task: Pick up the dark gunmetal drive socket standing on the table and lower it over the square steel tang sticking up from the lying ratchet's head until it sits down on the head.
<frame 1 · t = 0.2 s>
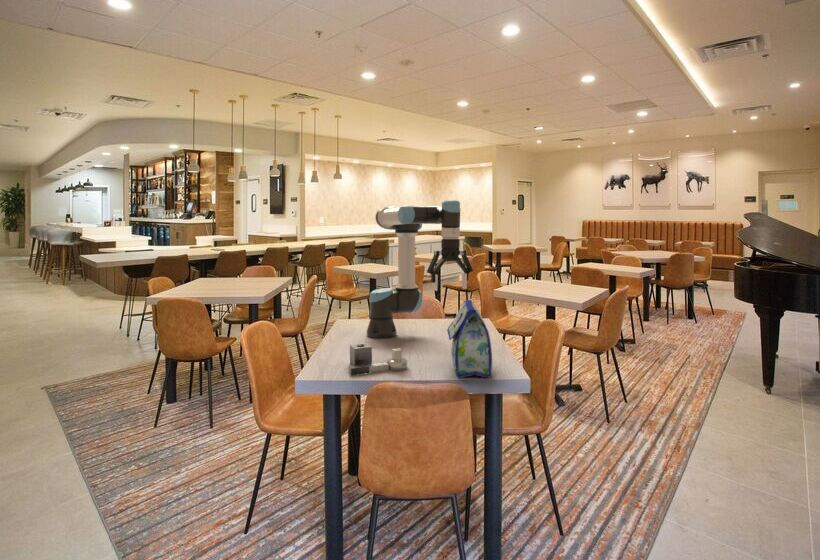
hand: (449, 289, 199), 29 cm above the table, tool pointing down, fingers open, 13 cm apart
socket: (360, 365, 191), on the table
ratchet: (397, 368, 187), on the table
lunch bag: (469, 370, 185), on the table
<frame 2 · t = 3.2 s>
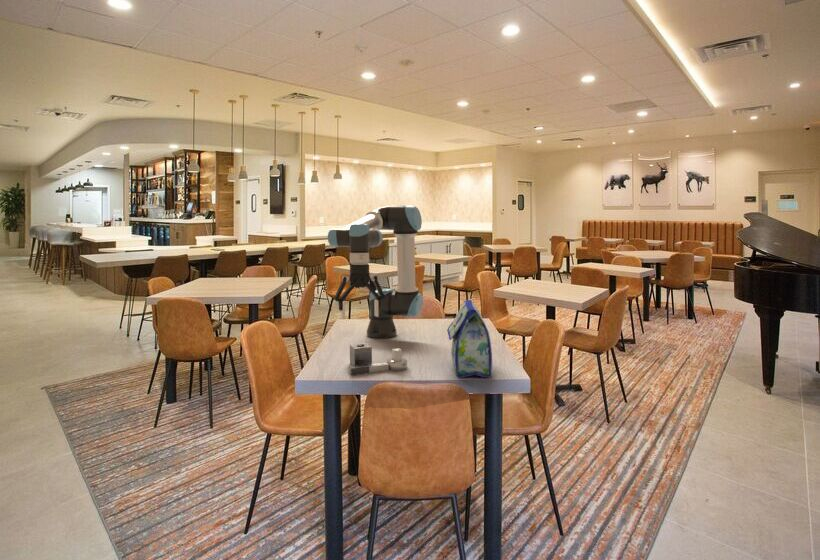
hand: (360, 317, 188), 19 cm above the table, tool pointing down, fingers open, 13 cm apart
nothing on the table moved.
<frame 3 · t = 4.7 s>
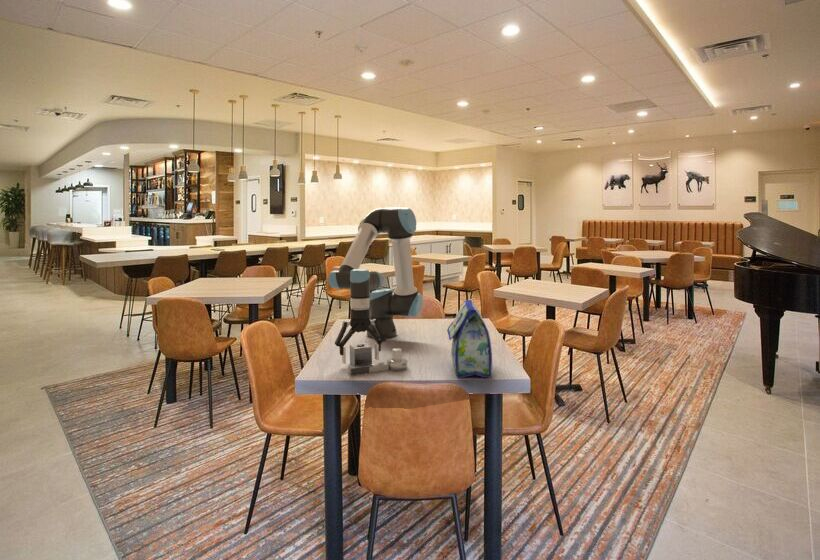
hand: (360, 361, 190), 2 cm above the table, tool pointing down, fingers open, 13 cm apart
nothing on the table moved.
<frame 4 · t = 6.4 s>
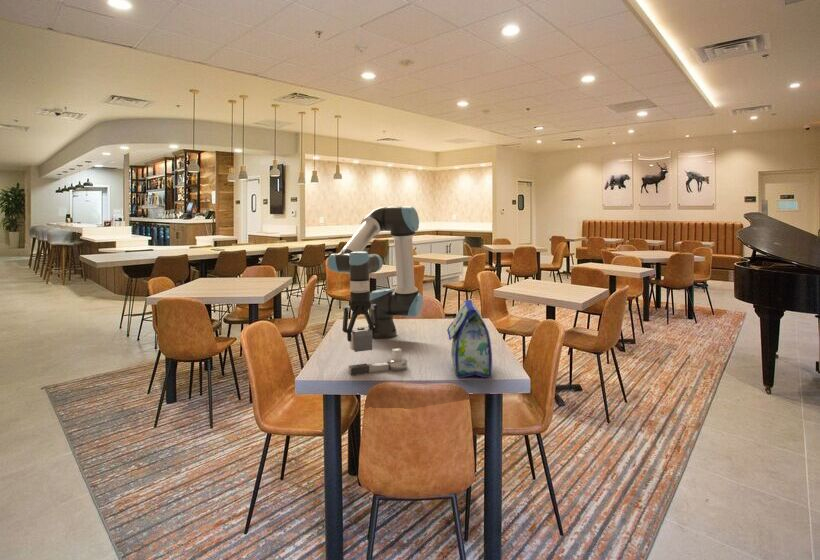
hand: (361, 347, 190), 7 cm above the table, tool pointing down, fingers closed on socket, 7 cm apart
socket: (361, 348, 191), point 7 cm above the table, touching gripper
everything else where it was.
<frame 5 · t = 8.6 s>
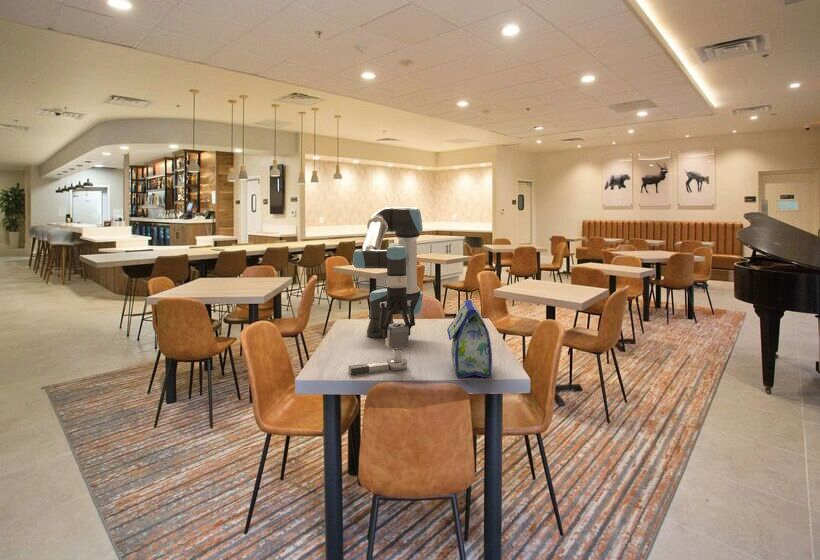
hand: (396, 344, 186), 9 cm above the table, tool pointing down, fingers closed on socket, 7 cm apart
socket: (396, 345, 186), point 9 cm above the table, touching gripper
everything else where it was.
when the fingers open (4 cm above the table, at t = 10.9 s): socket drops 1 cm, resting on ratchet.
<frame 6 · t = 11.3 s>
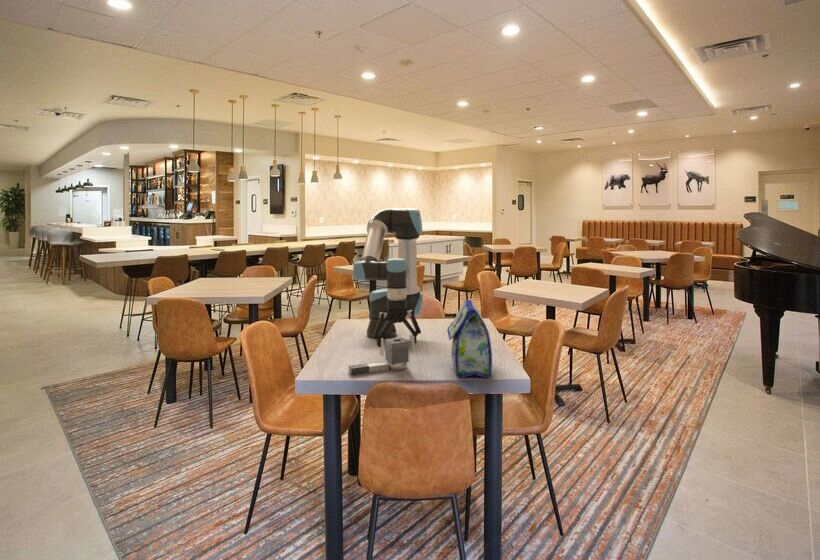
hand: (396, 353, 186), 6 cm above the table, tool pointing down, fingers open, 12 cm apart
socket: (396, 360, 187), point 3 cm above the table, touching ratchet
everything else where it was.
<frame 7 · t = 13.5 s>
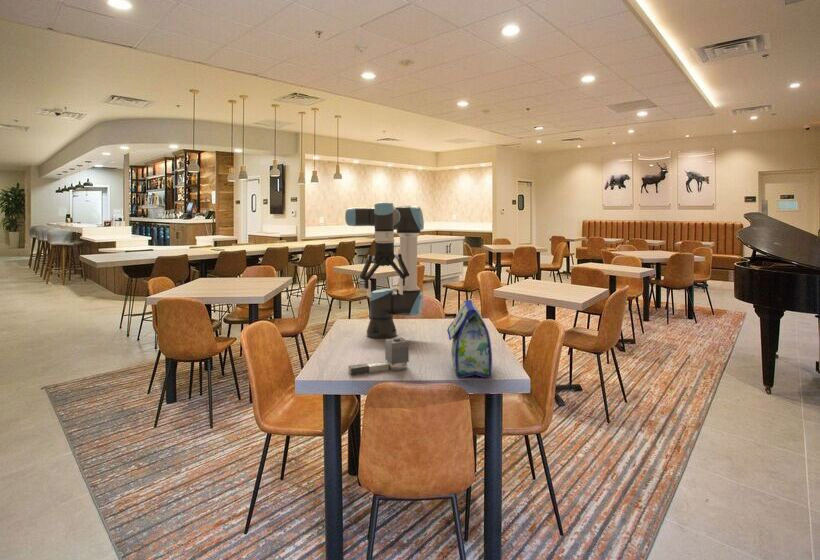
hand: (385, 295, 191), 28 cm above the table, tool pointing down, fingers open, 13 cm apart
nothing on the table moved.
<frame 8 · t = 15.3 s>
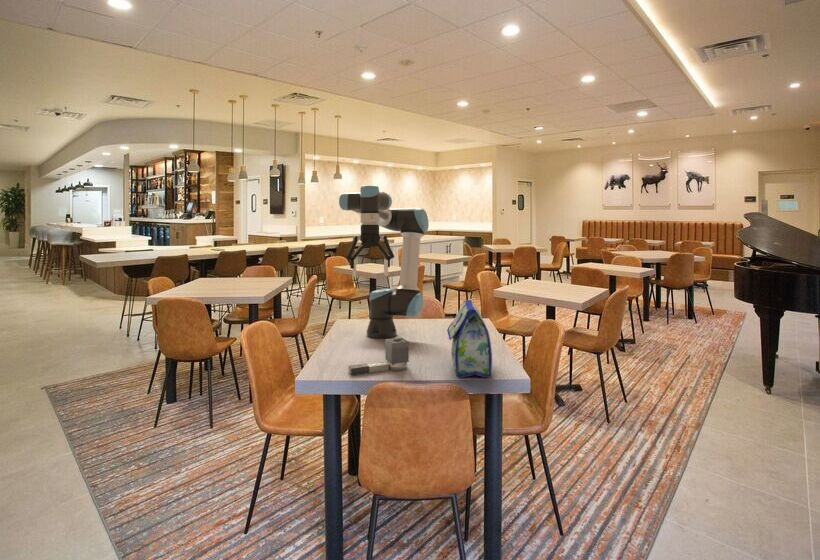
hand: (370, 276, 197), 35 cm above the table, tool pointing down, fingers open, 13 cm apart
nothing on the table moved.
at the end: socket 0.1 cm off-centre on the ratchet, point 3.0 cm above the ratchet's base; socket tilted 0°; the gripper is holding nothing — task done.
